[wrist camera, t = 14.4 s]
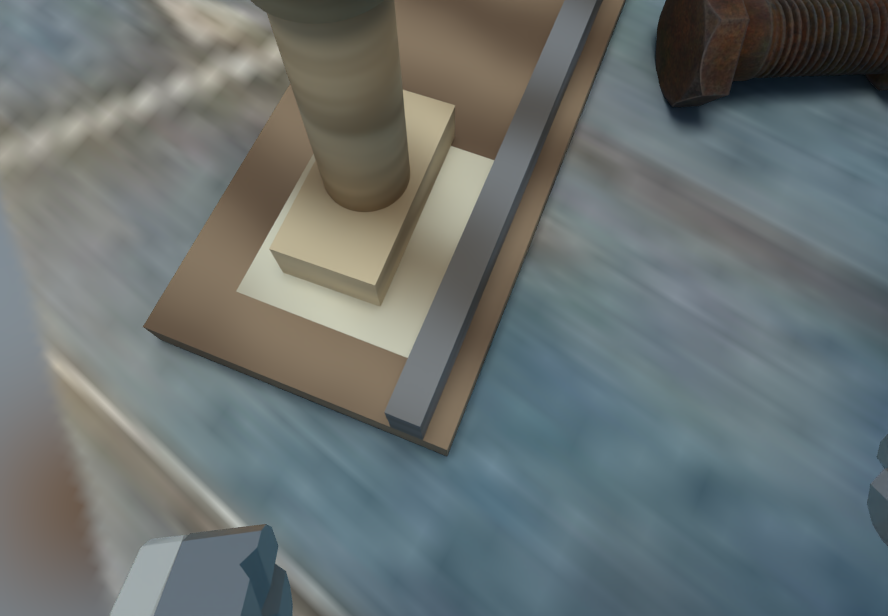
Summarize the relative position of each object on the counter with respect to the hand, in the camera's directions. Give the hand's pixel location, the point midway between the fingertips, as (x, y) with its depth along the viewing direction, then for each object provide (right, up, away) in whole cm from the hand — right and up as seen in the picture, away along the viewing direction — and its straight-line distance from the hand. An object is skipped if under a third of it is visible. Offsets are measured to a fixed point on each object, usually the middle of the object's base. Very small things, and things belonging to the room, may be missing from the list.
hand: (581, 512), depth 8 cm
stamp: (-5, +7, +16) cm, 18 cm away
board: (-2, +11, +20) cm, 22 cm away
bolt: (+16, +13, +21) cm, 29 cm away
